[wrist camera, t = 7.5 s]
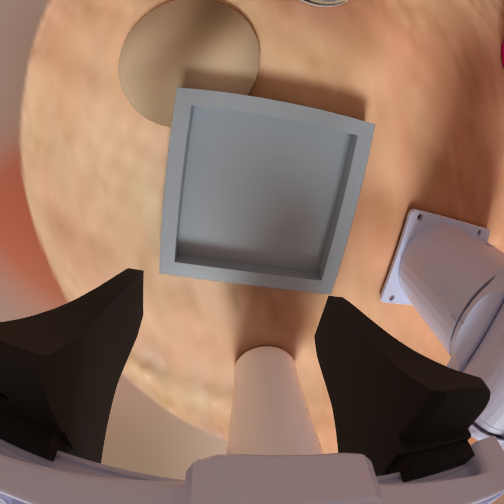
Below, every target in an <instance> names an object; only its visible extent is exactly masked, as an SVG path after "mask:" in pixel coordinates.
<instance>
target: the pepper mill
mask: <svg viewBox="0 0 504 504" xmlns="http://www.w3.org/2000/svg"><path fill="white" fill-rule="evenodd" d="M502 62H503V67H504V42H503V46H502Z"/></svg>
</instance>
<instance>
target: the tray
mask: <svg viewBox="0 0 504 504" xmlns="http://www.w3.org/2000/svg"><path fill="white" fill-rule="evenodd" d="M374 128H375V124H373V123H369V122H366V121H362V120H359V119H355V118H351V117H348V116H344V115H340V114H336V113H332V112H328V111H324V110H320V109H316V108H311V107H307V106H302V105H297V104H292V103H288V102H282V101H277V100H272V99H266V98H260V97H254V96H248V95H241V94H234V93H226V92H219V91H210V90H201V89H190V88H178V87H177V92H176V98H175V105H174V112H173V119H172V126H171V134H170V142H169V150H168V159H167V168H166V178H165V189H164V200H163V213H162V228H161V245H160V267H159V273H161V274H168V275H175V276H182V277H189V278H197V279H204V280H212V281H220V282H227V283H235V284H243V285H251V286H260V287H268V288H277V289H285V290H294V291H303V292H313V293H322V294H331V292H332V289H333V286H334V283H335V280H336V277H337V273H338V270H339V267H340V263H341V260H342V257H343V253H344V250H345V246H346V243H347V239H348V236H349V232H350V229H351V225H352V221H353V217H354V214H355V210H356V206H357V202H358V198H359V194H360V190H361V186H362V182H363V178H364V174H365V169H366V165H367V161H368V156H369V152H370V147H371V143H372V138H373V133H374Z"/></svg>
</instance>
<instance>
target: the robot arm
mask: <svg viewBox="0 0 504 504" xmlns="http://www.w3.org/2000/svg"><path fill="white" fill-rule="evenodd" d="M420 214H421V217H420V218H419V219H417V218H418V215H420ZM478 231H479V232H478ZM477 232H478V233H477ZM489 234H490V233H489V230H488V229H486V228H484V227H481V226H477V225H474V224H470V223H467V222H463V221H460V220H456V219H453V218H449V217H445V216H442V215H438V214H434V213H430V212H426V211H422V210H418V209H411V210H410V211H409V212H408V215H407V218H406V221H405V225H404V228H403V231H402V234H401V238H400V241H399V244H398V247H397V250H396V253H395V256H394V259H393V262H392V264H391V267H390V270H389V273H388V276H387V278H386V281H385V284H384V286H383V289H382V292H381V294H380V299H381V301H382V302H384V303H395V304H408V305H413V306H414V308H415V309H416V310H417V311H418V313H419V314H420V315H421V317H422V318H423V319H424V320H425V322H426V323H427V324H428V326H429V327H430V328H431V330H432V331H433V332H434V334H435V335H436V336H437V338H438V339H439V341H440V342H441V343H442V345H443V346H444V347H445V349H446V350H447V352H448V353H449V354H450V356H451V358H450V361H449V363H448V364H447V366H444V365H442V364H439V363H437V362H435V361H433V360H431V359H429V358H427V357H425V356H423V355H421V354H419V353H417V352H415V351H414V350H412V349H411V348H409V347H407V346H406V345H404V344H403V343H401V342H399V341H398V340H397V339H395V338H394V337H392V336H391V335H390V334H388V333H387V332H386V331H384V330H383V329H382V328H380V327H379V326H378V325H377V324H375V323H374V322H373V321H372V320H371V319H369V318H368V317H367V316H366V315H365V314H363V313H362V312H361V311H360V310H359V309H357V308H356V307H355V306H354V305H352V304H351V303H350V302H349V301H347V300H346V299H344V298H343V297H334V296H328V299H327V302H326V305H325V308H324V311H323V314H322V316H321V319H320V322H319V325H318V328H317V331H316V333H315V336H314V337H315V345H316V351H317V357H318V361H319V364H320V368H321V371H322V374H323V377H324V381H325V384H326V387H327V390H328V394H329V397H330V400H331V404H332V408H333V414H334V420H335V427H336V435H337V443H338V453H333V454H315V455H252V454H226V455H214V456H210V457H207V458H204V459H200V460H198V461H196V462H194V463H193V464H192V465H191V467H190V468H189V469H188V470H187V471H186V480H179V479H172V478H165V477H159V476H153V475H148V474H143V473H138V472H133V471H128V470H124V469H120V468H116V467H112V466H108V465H104V464H101V459H102V451H103V444H104V440H105V433H106V428H107V423H108V419H109V414H110V410H111V406H112V401H113V398H114V394H115V390H116V387H117V384H118V381H119V378H120V376H121V373H122V371H123V368H124V366H125V364H126V361H127V359H128V356H129V354H130V352H131V349H132V347H133V345H134V342H135V340H136V338H137V335H138V331H139V328H140V324H141V321H142V317H143V272H144V271H142V270H136V269H130V268H128V269H126V270H124V271H123V272H121V273H120V274H118V275H116V276H115V277H113V278H112V279H110V280H109V281H107V282H105V283H104V284H102V285H101V286H99V287H97V288H96V289H94V290H92V291H90V292H88V293H87V294H85V295H83V296H81V297H79V298H78V299H76V300H73V301H71V302H69V303H67V304H65V305H62V306H60V307H58V308H55V309H52V310H49V311H46V312H43V313H40V314H37V315H34V316H30V317H26V318H22V319H18V320H12V321H6V322H0V504H490V503H492V502H493V501H495V500H496V499H497V498H498V497H500V496H501V495H502V494H504V253H503V252H502V251H500V250H499V249H497V248H496V247H494V246H493V245H492V244H490V243H489V242H487V240H488V237H489ZM392 295H393V296H392ZM390 296H392V297H391V298H390ZM471 436H472V437H473V438H475V439H477V440H479V441H477V442H475V443H474V444H472V445H471V446H470V444H469V442H468V439H469V438H470V437H471Z"/></svg>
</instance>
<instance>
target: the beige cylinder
mask: <svg viewBox="0 0 504 504" xmlns="http://www.w3.org/2000/svg"><path fill="white" fill-rule="evenodd" d="M226 454H252V455H315V454H323V450H322V447H321V444H320V441H319V438H318V436H317V433H316V430H315V427H314V424H313V421H312V418H311V415H310V412H309V409H308V406H307V403H306V400H305V397H304V394H303V391H302V388H301V385H300V382H299V379H298V375H297V370H296V366H295V362H294V360H293V358H292V357H291V356H290V355H289V354H288V353H287V352H286V351H284V350H282V349H280V348H277V347H271V346H262V347H257V348H253V349H251V350H249V351H247V352H245V353H244V354H243V355H241V356H240V358H239V359H238V360H237V362H236V364H235V368H234V389H233V398H232V408H231V417H230V425H229V434H228V442H227V451H226Z"/></svg>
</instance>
